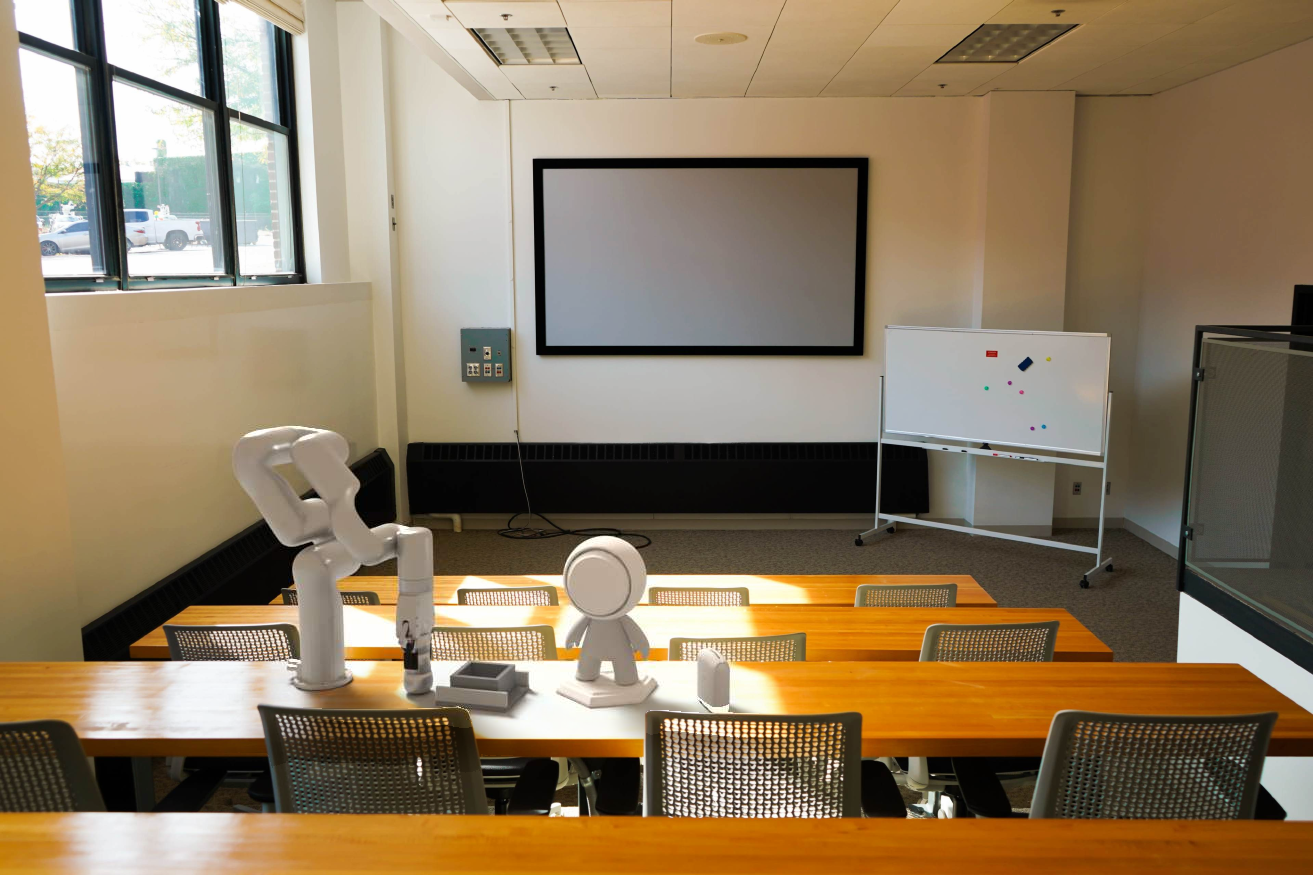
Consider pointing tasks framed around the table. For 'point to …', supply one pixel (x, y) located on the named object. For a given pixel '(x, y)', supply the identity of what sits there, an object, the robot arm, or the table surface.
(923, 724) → the table surface
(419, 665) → the plastic bottle
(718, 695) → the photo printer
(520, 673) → the gray open square box
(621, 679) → the white cartoon figure
